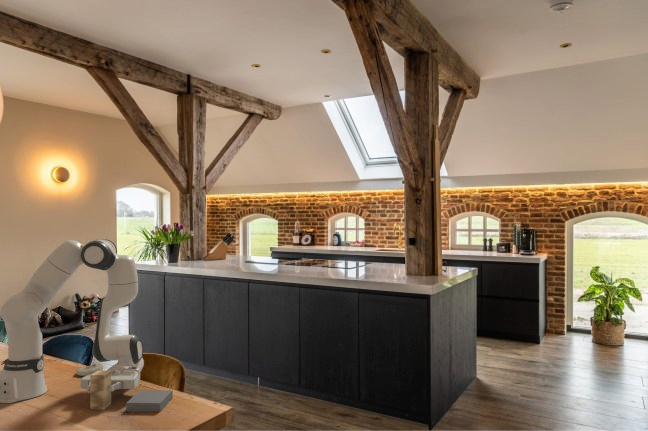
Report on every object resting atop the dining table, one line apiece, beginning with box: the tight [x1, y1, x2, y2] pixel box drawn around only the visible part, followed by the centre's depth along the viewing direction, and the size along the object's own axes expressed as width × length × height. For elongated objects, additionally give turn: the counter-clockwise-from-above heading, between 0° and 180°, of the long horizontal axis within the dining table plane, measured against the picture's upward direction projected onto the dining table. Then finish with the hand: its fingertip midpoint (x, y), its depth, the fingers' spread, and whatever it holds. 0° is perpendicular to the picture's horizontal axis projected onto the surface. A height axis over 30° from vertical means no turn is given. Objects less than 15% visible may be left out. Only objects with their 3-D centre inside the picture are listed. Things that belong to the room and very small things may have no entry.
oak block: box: [89, 370, 112, 410], centre depth 167 cm, size 5×5×12 cm
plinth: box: [125, 389, 174, 413], centre depth 168 cm, size 12×12×3 cm
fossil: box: [75, 362, 104, 377], centre depth 203 cm, size 11×4×10 cm
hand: (99, 389), depth 166 cm, fingers open, 6 cm apart
